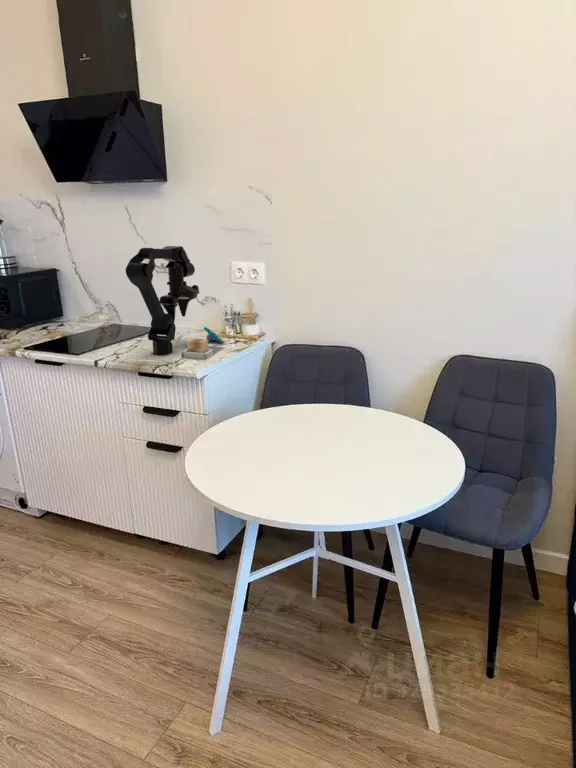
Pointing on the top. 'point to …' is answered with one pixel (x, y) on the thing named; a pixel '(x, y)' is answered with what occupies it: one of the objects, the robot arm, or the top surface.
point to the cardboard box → (197, 345)
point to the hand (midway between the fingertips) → (178, 318)
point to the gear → (211, 335)
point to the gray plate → (201, 356)
